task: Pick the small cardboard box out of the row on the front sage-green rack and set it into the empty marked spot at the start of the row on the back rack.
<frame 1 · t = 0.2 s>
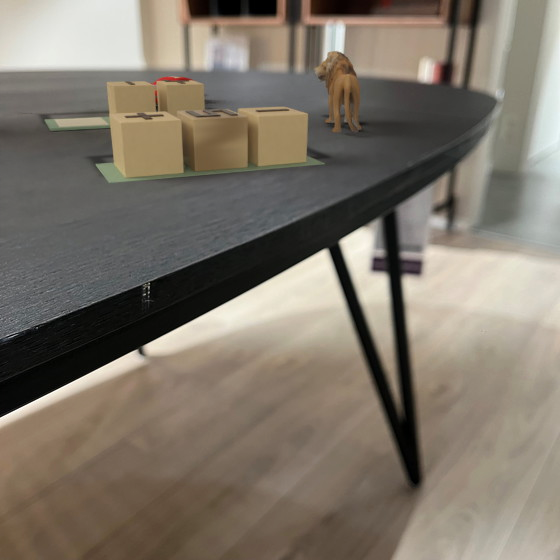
small cardboard box: (212, 163, 53), resting on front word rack
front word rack: (212, 166, 53), on the table
back word rack: (137, 122, 75), on the table
lion figurine: (338, 127, 75), on the table
race car: (171, 104, 91), on the table
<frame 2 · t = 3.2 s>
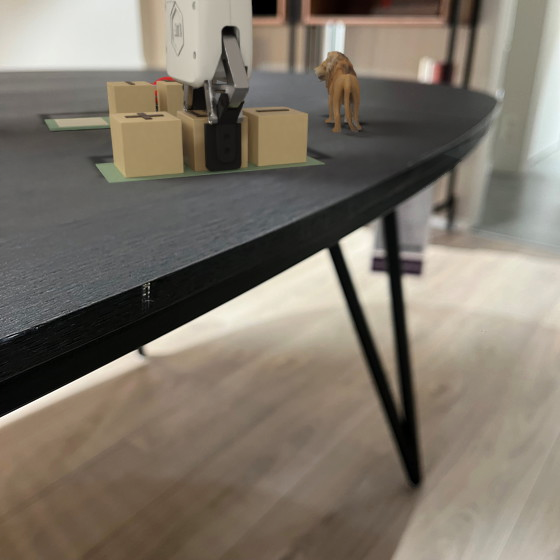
hand: (212, 160, 53), 1 cm above the table, tool pointing down, fingers closed on small cardboard box, 5 cm apart
small cardboard box: (212, 163, 53), resting on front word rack, touching gripper
everything else where it was.
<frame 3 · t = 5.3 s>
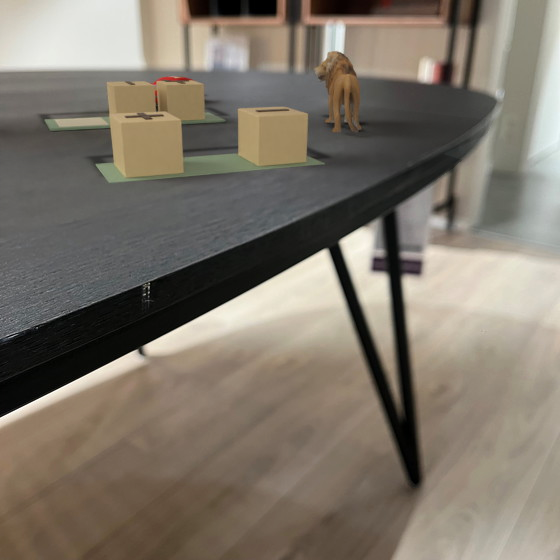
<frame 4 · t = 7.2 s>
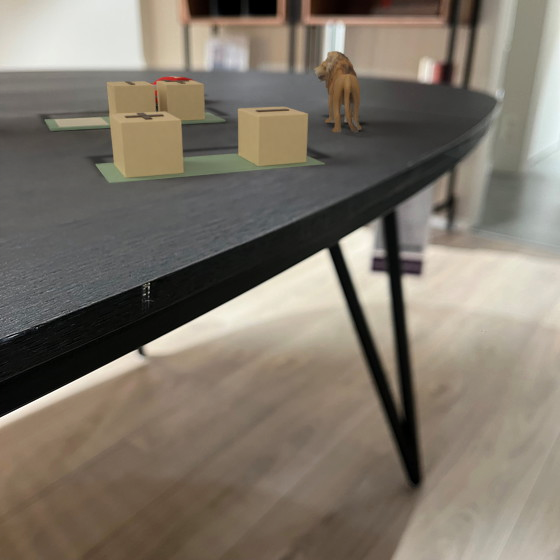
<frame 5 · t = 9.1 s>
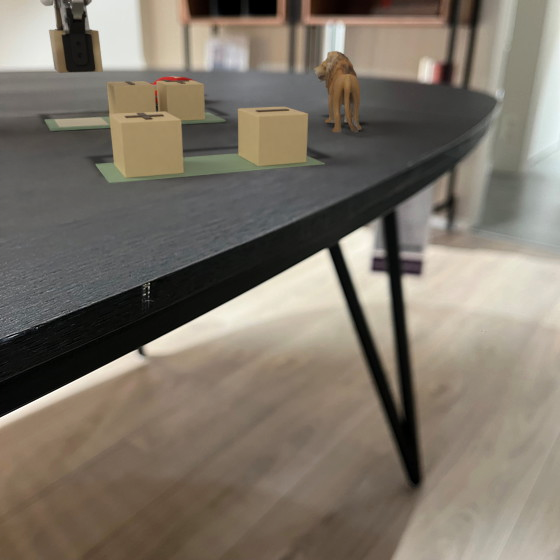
hand: (77, 68, 69), 7 cm above the table, tool pointing down, fingers closed on small cardboard box, 5 cm apart
small cardboard box: (78, 70, 69), point 6 cm above the table, touching gripper
everything else where it was.
when the fingers open (1 cm above the table, at t = 11.0 s): small cardboard box stays where it is, resting on back word rack.
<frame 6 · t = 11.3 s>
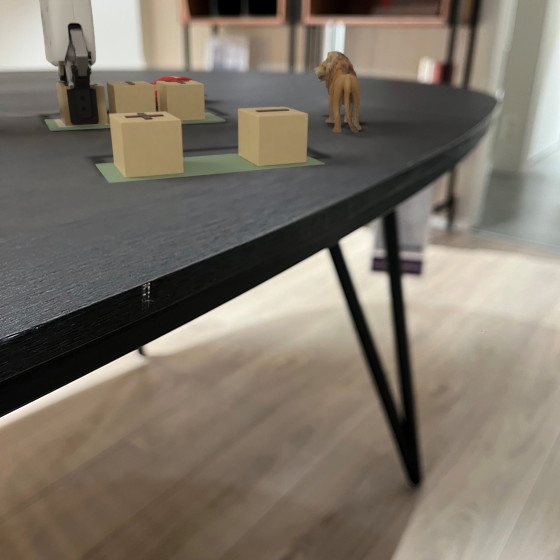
hand: (79, 117, 71), 1 cm above the table, tool pointing down, fingers open, 7 cm apart
small cardboard box: (83, 121, 72), resting on back word rack
everything else where it was.
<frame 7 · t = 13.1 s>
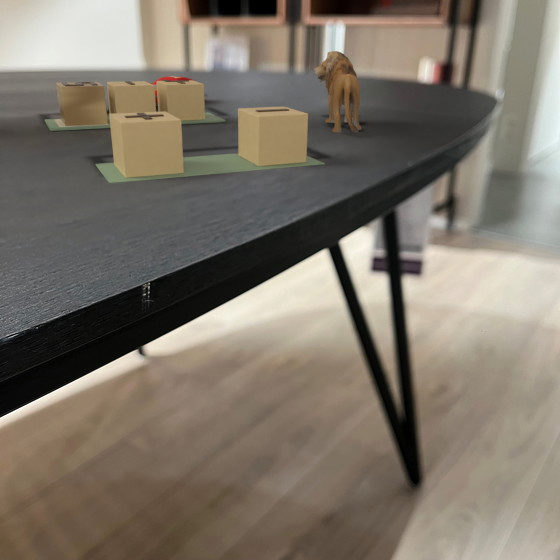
nothing on the table moved.
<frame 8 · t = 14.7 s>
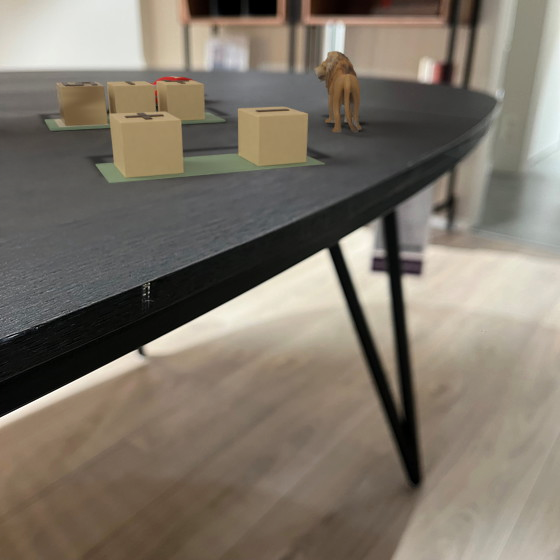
nothing on the table moved.
at the end: small cardboard box 0.3 cm from the target spot on the back word rack, point 0.3 cm above the back word rack's base; small cardboard box tilted 0° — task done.
